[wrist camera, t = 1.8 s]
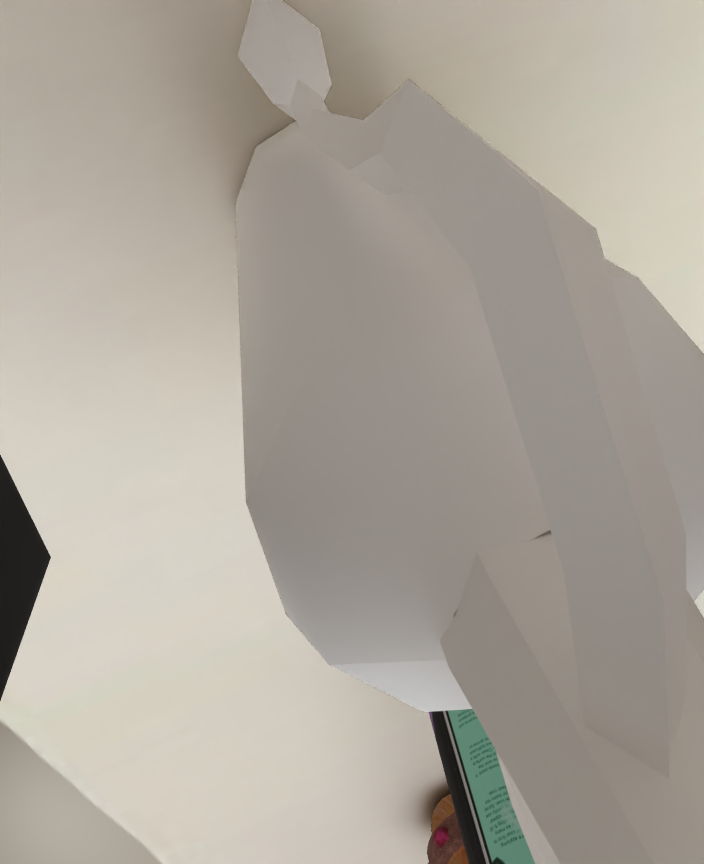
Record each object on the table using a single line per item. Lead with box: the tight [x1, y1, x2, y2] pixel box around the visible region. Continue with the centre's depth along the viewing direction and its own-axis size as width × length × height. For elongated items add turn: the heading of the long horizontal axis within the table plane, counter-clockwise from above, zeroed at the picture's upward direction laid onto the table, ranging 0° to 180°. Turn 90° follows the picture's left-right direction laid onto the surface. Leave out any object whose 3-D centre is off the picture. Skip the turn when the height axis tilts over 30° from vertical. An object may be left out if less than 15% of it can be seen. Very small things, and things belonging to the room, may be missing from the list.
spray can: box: [429, 709, 535, 864], centre depth 29 cm, size 6×6×20 cm
